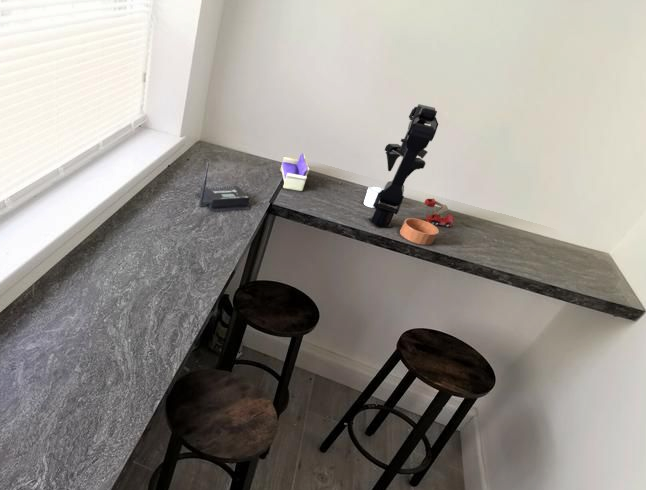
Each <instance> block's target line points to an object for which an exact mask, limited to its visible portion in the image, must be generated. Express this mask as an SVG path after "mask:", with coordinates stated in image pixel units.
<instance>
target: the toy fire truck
mask: <svg viewBox="0 0 646 490" xmlns="http://www.w3.org/2000/svg"><path fill="white" fill-rule="evenodd" d="M424 205H425V206H426V207H429V208H434V207H435V206H438V207H439V208H438V209H436V210H435V211H433V212H432V214H431V215H426V218H425V221H427V222H429V223H431V224H433V225H434V226H438V225H439V226H443V227H444V226H445V227H446V228H449V227H452V226H453V224H454V222H455V216H454V215H453V214H450V213H447V214H446V216H445V217H442V216H441V215H440V214H442V213H444V212H446V211H448V210H449V207H448V205H447V204H444V203H441V202H440V201H437V200H435V198H426V199H425V200H424Z"/></svg>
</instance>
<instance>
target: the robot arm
mask: <svg viewBox="0 0 646 490" xmlns="http://www.w3.org/2000/svg"><path fill="white" fill-rule="evenodd" d="M437 113H438V111H437V110H436V107H433V106H429V105H424V104H420V103H419V104H417V106H414V107H413V108H412V109H411V110H410V113H409V115H408V120H410V121H409V122H408V127H407V131H406V134H405V136H404V138H400V142H401V145H400V144H399V143H388V144H387V145H386V146H385V147H384V151H385V154H386V161H387V171H388V172H391V171H392V170H393V168H394V166H395V164H396V161H397V160H398V159H399V158H400V157H401V161H400V163H399V165H398V167H397V170H396V172H395V173H394V176H393V178H392V180H391V181H387V182H386V184H385V185H384V187H383V190H381V191H380V192H379V193H378V195H377V198H376V200H375V203H374V205H373V206H374V207H375V208H374V209H375V211H374V213H373V215H372V217H369V218H368V220H369V221H370V222H371V223H372V224H373V225H374V226H375V227H376V228H392V225H391V222H392V220H393V218H394V216H395V215H398V213H399V211H400V208H401V206H402V203H403V200H404V196H405V195H404V192H405V185H404V184H405V182H406V180H407V179H408V177H409V176H410V175H411V174H412V173H413V172H415V171H417V170H422V169H424V168H425V166H426V164H427V163H426V161H425V160H424V158H425V157H426V155H427V154H428V150H426V148H428V145H429V144H430V142H432V141H433V139H434V137H435V135H436V133H437V130H438V126H439V122H438V120H437V119H438V118H437V117H436V116H437ZM379 200H380V203H379Z"/></svg>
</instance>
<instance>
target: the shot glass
mask: <svg viewBox="0 0 646 490" xmlns="http://www.w3.org/2000/svg"><path fill="white" fill-rule="evenodd" d="M381 190H384V188H381V187H380V186H375V185H369V186H368V187H367V190H366V194H365V197H364V200H363V205H364V206H366V207H368V208H372V209H376V208H375V207H374V206H373V205H374V203H375V200H376V198H377V195H378V193H379V192H380V191H381ZM379 203H380V204H381V202H380V200H379Z"/></svg>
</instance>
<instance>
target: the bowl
mask: <svg viewBox="0 0 646 490" xmlns="http://www.w3.org/2000/svg"><path fill="white" fill-rule="evenodd" d="M439 232H440V230H439V228H438V227H437V225H435V224H431V223H429V222H427V221H426V220H424V219H420V218H415V217H408V218H405V220H404V221H403V222H402V225H401V227H400V229H399V234H400V235H401V237H402V238H404V239H406V240H407V241H409V242H412V243H413V244H414V243H415V244H417V245H424V246H429V245H432V244H433V243H434V242H435V240H436V238H437V236H438V234H439Z"/></svg>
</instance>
